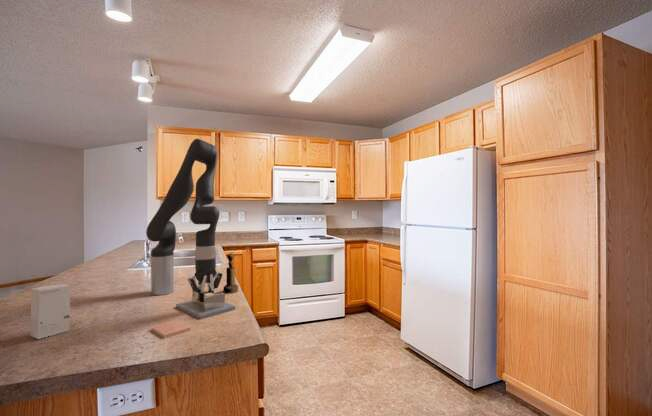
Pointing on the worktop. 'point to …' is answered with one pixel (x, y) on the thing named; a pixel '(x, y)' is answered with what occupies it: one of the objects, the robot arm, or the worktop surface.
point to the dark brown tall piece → (230, 276)
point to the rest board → (199, 311)
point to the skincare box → (50, 310)
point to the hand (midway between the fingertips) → (205, 300)
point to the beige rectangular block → (210, 300)
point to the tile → (170, 329)
